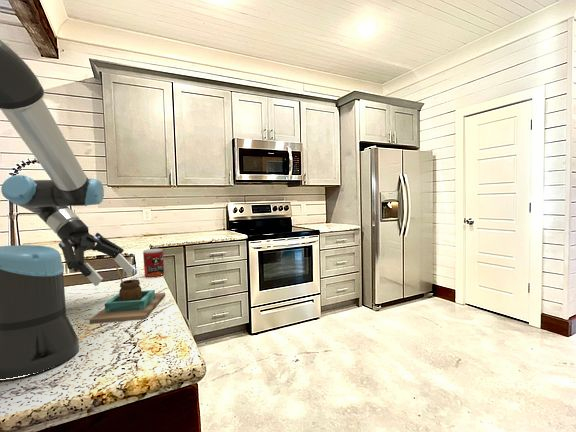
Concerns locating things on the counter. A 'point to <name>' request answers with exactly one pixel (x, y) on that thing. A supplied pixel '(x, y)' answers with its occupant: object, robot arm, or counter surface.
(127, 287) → the utensil holder
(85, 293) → the counter surface
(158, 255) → the canned food
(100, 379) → the counter surface
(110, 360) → the counter surface
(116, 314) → the cradle jig
